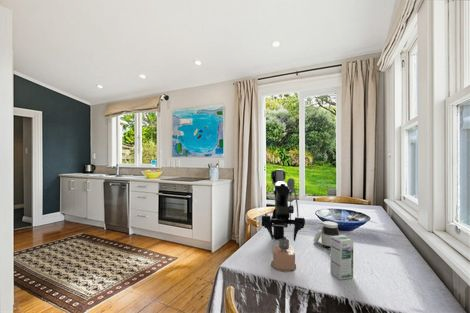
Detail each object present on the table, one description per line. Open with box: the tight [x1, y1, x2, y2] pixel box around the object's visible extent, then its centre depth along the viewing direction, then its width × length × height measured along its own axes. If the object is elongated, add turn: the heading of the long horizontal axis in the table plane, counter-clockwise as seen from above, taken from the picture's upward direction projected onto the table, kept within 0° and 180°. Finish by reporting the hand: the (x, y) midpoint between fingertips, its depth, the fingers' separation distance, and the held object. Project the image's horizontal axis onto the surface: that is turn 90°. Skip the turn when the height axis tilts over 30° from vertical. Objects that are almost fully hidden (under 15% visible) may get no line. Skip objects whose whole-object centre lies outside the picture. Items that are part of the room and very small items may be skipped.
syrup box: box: [329, 234, 354, 281], centre depth 87 cm, size 6×6×14 cm
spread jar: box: [313, 220, 340, 250], centre depth 116 cm, size 12×11×12 cm
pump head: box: [278, 238, 290, 251], centre depth 93 cm, size 6×4×8 cm, turn 173°
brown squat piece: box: [270, 245, 297, 273], centre depth 94 cm, size 10×10×6 cm
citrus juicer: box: [286, 177, 300, 226], centre depth 156 cm, size 11×10×30 cm
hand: (283, 240), depth 97 cm, fingers open, 9 cm apart
